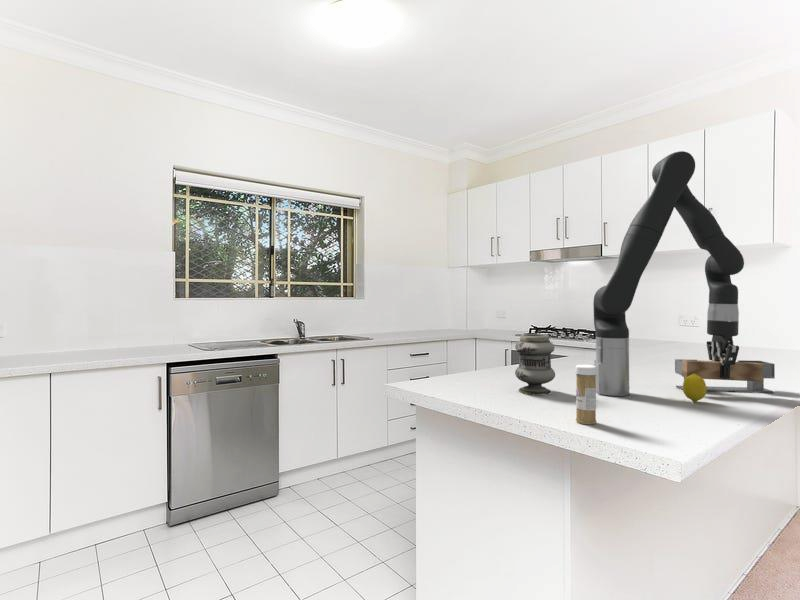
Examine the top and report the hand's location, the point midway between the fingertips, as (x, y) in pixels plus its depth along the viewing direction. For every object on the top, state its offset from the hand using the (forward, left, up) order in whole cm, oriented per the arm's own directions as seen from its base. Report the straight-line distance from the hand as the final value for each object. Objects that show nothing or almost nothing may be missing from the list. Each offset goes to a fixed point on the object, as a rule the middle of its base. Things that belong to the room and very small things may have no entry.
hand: (721, 377), depth 132 cm
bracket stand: (+5, +9, -6) cm, 12 cm away
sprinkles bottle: (-45, -36, -6) cm, 58 cm away
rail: (0, 0, -1) cm, 1 cm away
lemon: (-11, -10, -6) cm, 16 cm away
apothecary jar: (-53, -2, -6) cm, 54 cm away
